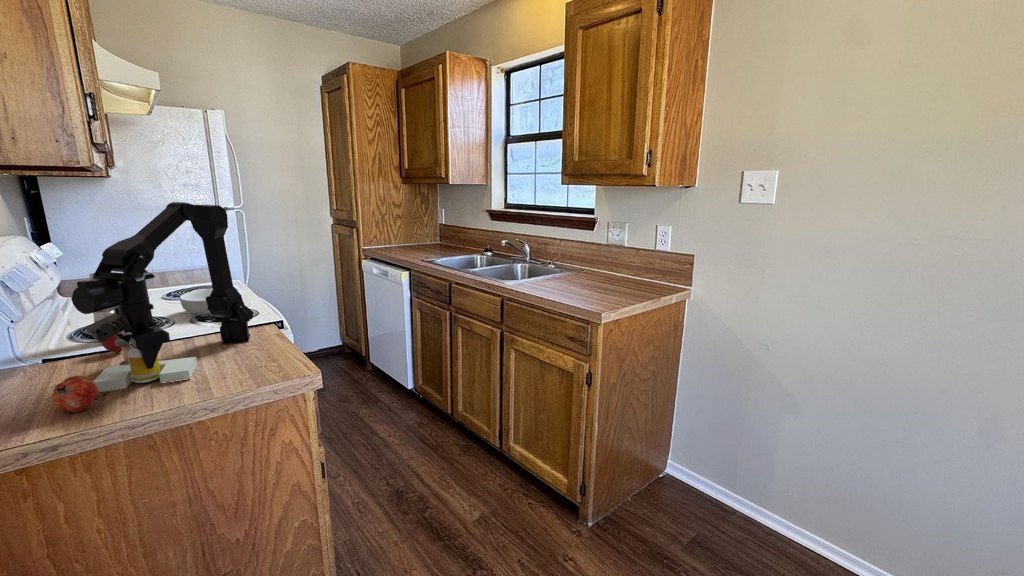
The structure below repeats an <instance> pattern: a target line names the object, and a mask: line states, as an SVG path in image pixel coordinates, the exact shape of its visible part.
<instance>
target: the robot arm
mask: <svg viewBox="0 0 1024 576" xmlns="http://www.w3.org/2000/svg"><path fill="white" fill-rule="evenodd" d="M228 220H229V219H228V212H227V210H226V209H225V208H224V207H222V206H221V205H218V204H217V205H215V204H192V203H189V202H184V201H183V202H182V201H181V202H179V201H173V202H169V203H167V204H166V207H165V209H163V210H162V211H161V212H160V213H159V214H157V215H156V216H155V217H154V218H153V219H152V220H150V221H149V222H148V223H147V224H146V225H145V226H144V227H142V228H141V229H140V230H139V231H138V232H137V233H135V234H134V235H132V236H130V237H127V238H125V239H122V240H119V241H117V242H115V243H114V244H112V245H110V246H109V247H106V248H105V249H104V251H103V252H102V254H101V257H102V258H101V259H100V262H99V264H98V266H97V268H96V270H95V271H94V272H93V273H94V275H93V280H90V279H89V280H85V279H84V280H79V281H78V280H77V281H76V286H77V287H76V288H74V290H73V292H72V296H71V302H72V304H73V306H74V309H76V310H77V311H78V312H80V313H81V314H84V315H91V314H93V313H94V312H98V311H101V310H105V309H109V308H112V307H115V308H114V314H113V315H110V316H108V317H105V318H103V319H101V320H99V321H97V322H95V323H94V322H93V323H91V324H88V325H87V326H86V327H85V328H86V330H87V331H88V332H89V333H90V335H91V336H92V338H94V340H96V341H97V342H98V343H101V342H104V341H106V340H108V338H110V337H112V336H114V335H116V334H117V335H116V336H117V337H118V338H120V339H122V340H124V341H126V342H127V343H128V345H129V347H130V346H132V347H133V348H135V349H138V350H139V352H140V354H141V356H142V359H143V361H144V364H145V366H146V368H147V369H150V368H153V366H154V363H155V361H156V358H157V356H158V355H159V353H160V351H161V349H162V346H163V344H164V343H169V342H170V341H171V337H170V332H168V331H166V330H164V329H163V328H160V327H159V326H157V325H158V324H157V321H156V320H154V319H153V314H152V310H154V307H155V306H154V304H153V303H151V301H150V297H149V290H148V287H147V286H148V285H147V280H151V279H154V278H155V274H153V273H151V272H149V271H148V270H147V268H148V266H149V265H150V264H151V262H152V261H153V259H154V257H155V251H156V250H157V248H158V247H159V246H161V244H163V243H164V242H165V241H166V240H167V239H168V238H169V237H170V236H171V235H172V234H173V233H174V232H175V231H176V230H177V229H179V228H180V227H181V226H182V225H183V224H184V223H185V222H187V221H189V222H190V224H191V226H192V228H193V231H194V232H196V234H197V235H198V236H199V237H200V238H201V240H202V245H203V249H204V254H205V257H206V263H207V268H208V272H209V277H210V282H211V288H213V290H212V292H211V294H210V296H207V297H206V302H207V306H208V308H207V310H209V311H210V313H211V315H213V316H212V317H213V319H214V320H215V322H220V323H221V325H220V326H219V333H220V339H221V340H220V341H221V342H222V345H230V344H238V343H239V344H240V343H241V344H242V343H248V342H249V340H250V337H251V333H250V329H249V323H248V322H250V321H251V320H253V318H254V311H253V310H252V309H251V308H249V307H248V306H246V304H245V302H244V300H243V296H242V294H241V293H240V292H239V291H238V290H237V289H236V288H235V286H234V283H233V279H232V273H231V268H230V263H229V258H228V253H227V246H226V244H225V243H226V242H225V235H226V232H227V230H228V227H229V225H228V222H229V221H228ZM118 333H120V334H118ZM130 340H131V343H132V344H129V341H130ZM130 349H132V348H130ZM158 357H159V356H158Z"/></svg>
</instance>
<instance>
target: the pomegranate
mask: <svg viewBox="0 0 1024 576" xmlns="http://www.w3.org/2000/svg"><path fill="white" fill-rule="evenodd" d="M93 381H94V380H92V379H90V378H89V377H87V376H84V375H73V376H70V377H67V378H65V379H64V380H63V381H62V382H60V383H58V384H56V385H55V386H54V389H53V392H52V393H53V394H52V395H51V402H52V404H53V406H54V407H55V408H56V409H58V410H59V411H62V412H72V413H80V412H83V410H84V411H87V410H88V409H89V408H91V407H92V406H93V405H94V403H95V402H94V400H95V401H98V400H97V399H98V398H97V397H98V396H99V394H100V392H99V390H98V388H97V386H96V385H95V383H94V382H93ZM87 408H88V409H87ZM86 409H87V410H86ZM79 411H80V412H79Z"/></svg>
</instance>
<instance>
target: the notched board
mask: <svg viewBox="0 0 1024 576" xmlns="http://www.w3.org/2000/svg"><path fill="white" fill-rule="evenodd" d="M197 361H198V360H197V357H196V356H191V357H184V358H183V357H182V358H175V359H165V360H159V365H160V371H161V372H160V374H159V381H160V384H161V383H163V382H170V381H176V380H183V379H190V377H191V376H192V377H193V375H194V374H193V372H194V370H195V369H197V368H198V362H197ZM196 367H197V368H196ZM195 371H196V370H195ZM194 373H195V372H194ZM192 374H193V375H192ZM192 377H191V378H192ZM190 380H191V379H190ZM92 381H93V382H94V383H95V385H96V386H97V388H98V390H99V393H105V392H111V391H118V390H119V389H120V390H125V388H126V389H128V387H129V386H128V385H130V384H131V383H132V382H133V381H132V375H131V370H130V365H122V366H120V365H117V366H115V365H113V366H107V367H105V368H104V370H103V371H101V373H100V374H99V375H98V376H96V378H94V380H92ZM131 381H132V382H131ZM127 386H128V387H127Z"/></svg>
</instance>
